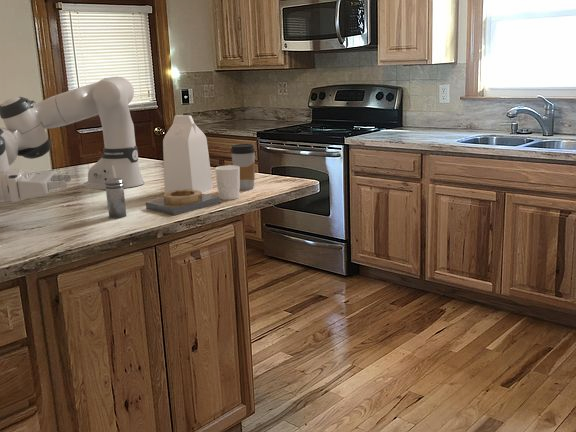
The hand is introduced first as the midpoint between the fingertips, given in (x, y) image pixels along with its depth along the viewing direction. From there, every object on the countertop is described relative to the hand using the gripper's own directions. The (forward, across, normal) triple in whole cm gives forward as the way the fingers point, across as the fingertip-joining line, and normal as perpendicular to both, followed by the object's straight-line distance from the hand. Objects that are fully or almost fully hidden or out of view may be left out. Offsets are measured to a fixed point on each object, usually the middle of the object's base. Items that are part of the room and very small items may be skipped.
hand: (68, 180), depth 177 cm
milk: (+35, -28, -12) cm, 46 cm away
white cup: (+47, -13, -12) cm, 50 cm away
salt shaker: (+12, -1, -12) cm, 17 cm away
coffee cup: (+54, -25, -12) cm, 61 cm away
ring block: (+32, -7, -12) cm, 35 cm away
